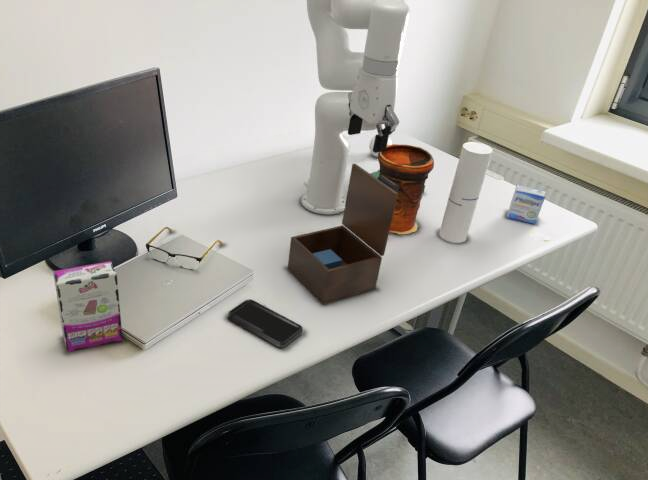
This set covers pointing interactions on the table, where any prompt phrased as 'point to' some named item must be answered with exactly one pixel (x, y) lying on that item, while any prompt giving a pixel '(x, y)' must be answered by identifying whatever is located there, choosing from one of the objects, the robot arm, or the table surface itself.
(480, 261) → the table surface
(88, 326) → the candy bar box
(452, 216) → the cylindrical container
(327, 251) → the block
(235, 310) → the phone
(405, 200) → the vessel
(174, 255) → the eyeglasses
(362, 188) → the lid
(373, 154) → the white rounded piece
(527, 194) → the medicine box
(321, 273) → the chest
